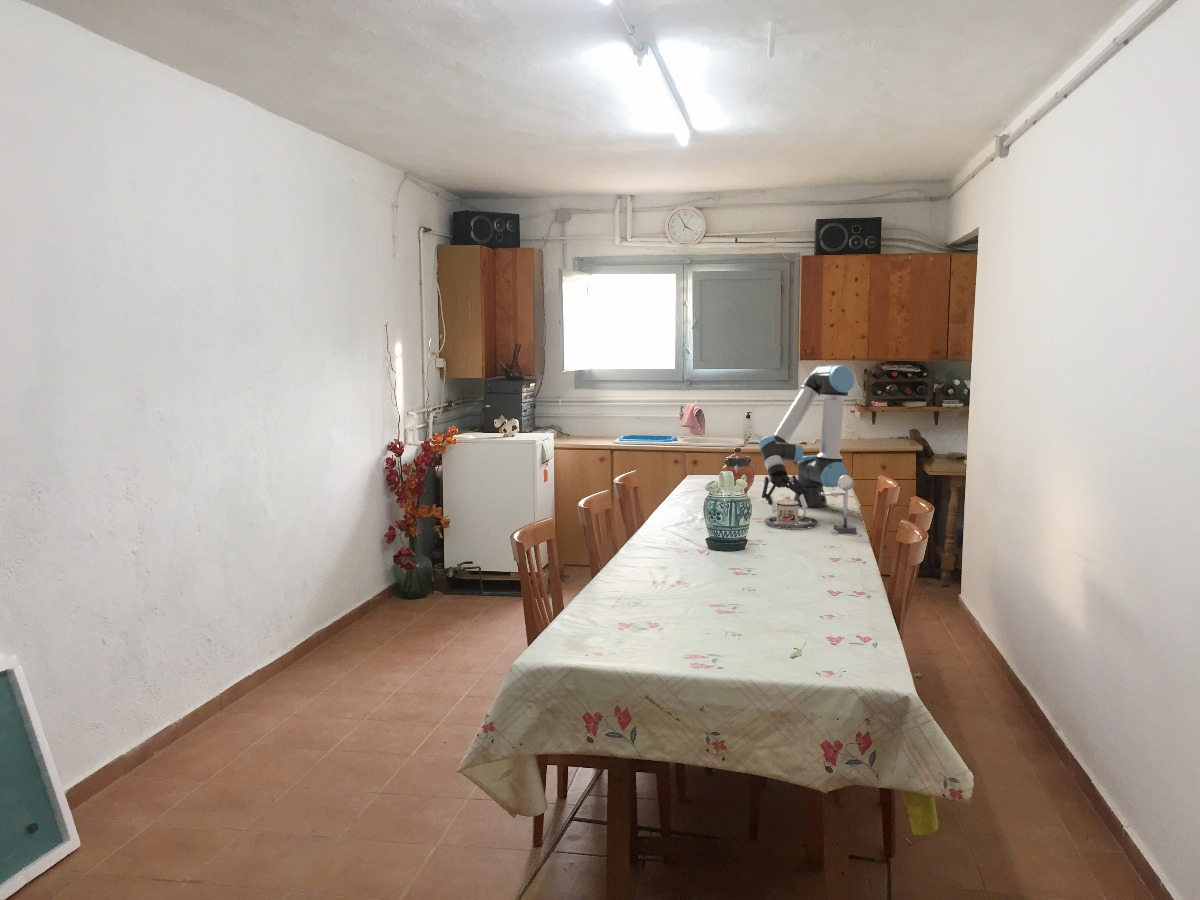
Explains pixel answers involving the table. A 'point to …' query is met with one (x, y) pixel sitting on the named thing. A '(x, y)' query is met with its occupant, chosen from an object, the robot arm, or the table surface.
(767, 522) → the centring ring
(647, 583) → the table surface
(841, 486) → the dial gauge stand
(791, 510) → the teacup with lid
